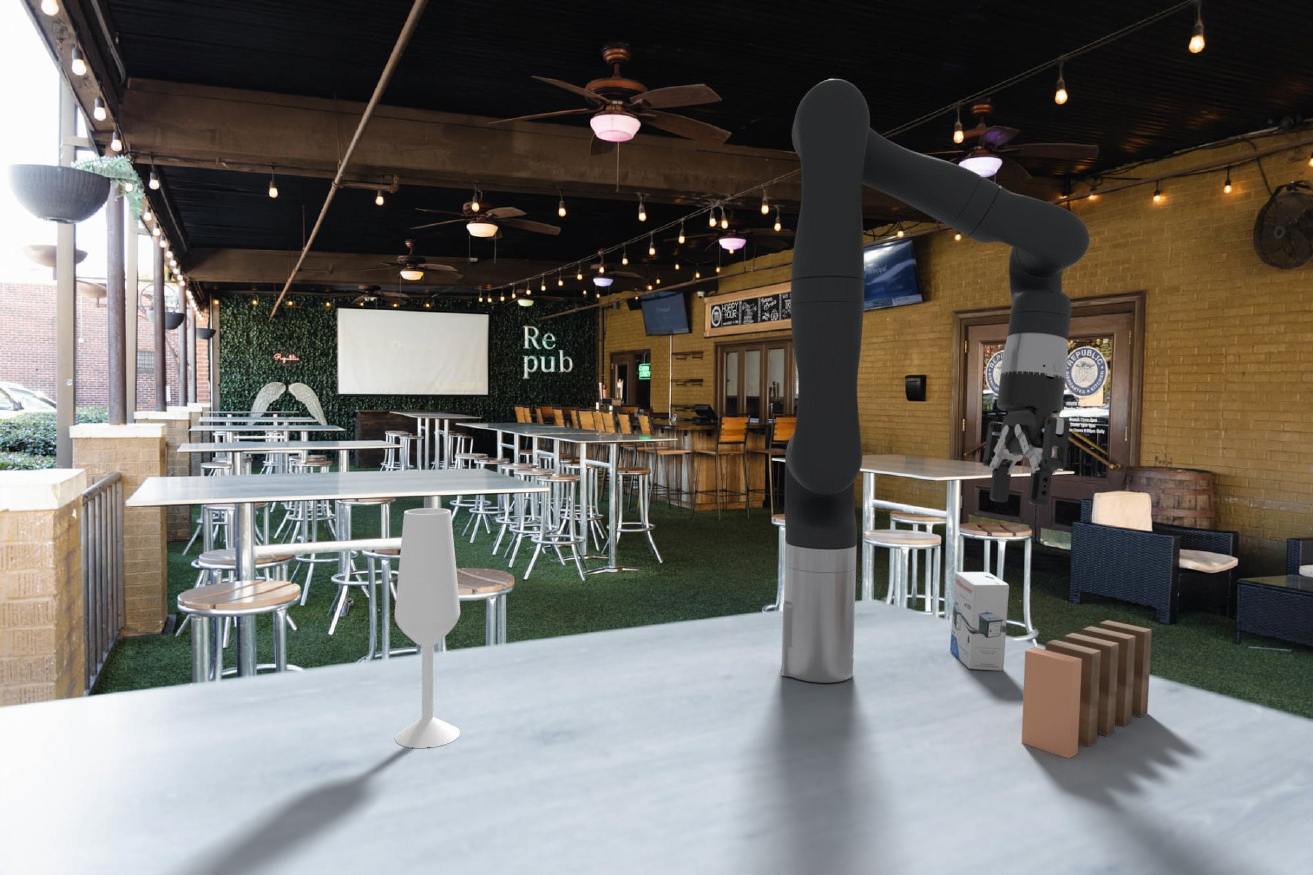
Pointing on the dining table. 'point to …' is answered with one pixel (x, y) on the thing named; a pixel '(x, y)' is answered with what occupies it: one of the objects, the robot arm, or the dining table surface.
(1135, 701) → the tile
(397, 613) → the champagne flute
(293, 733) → the dining table surface
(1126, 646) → the tile
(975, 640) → the ink box
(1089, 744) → the tile
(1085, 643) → the tile
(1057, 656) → the tile
